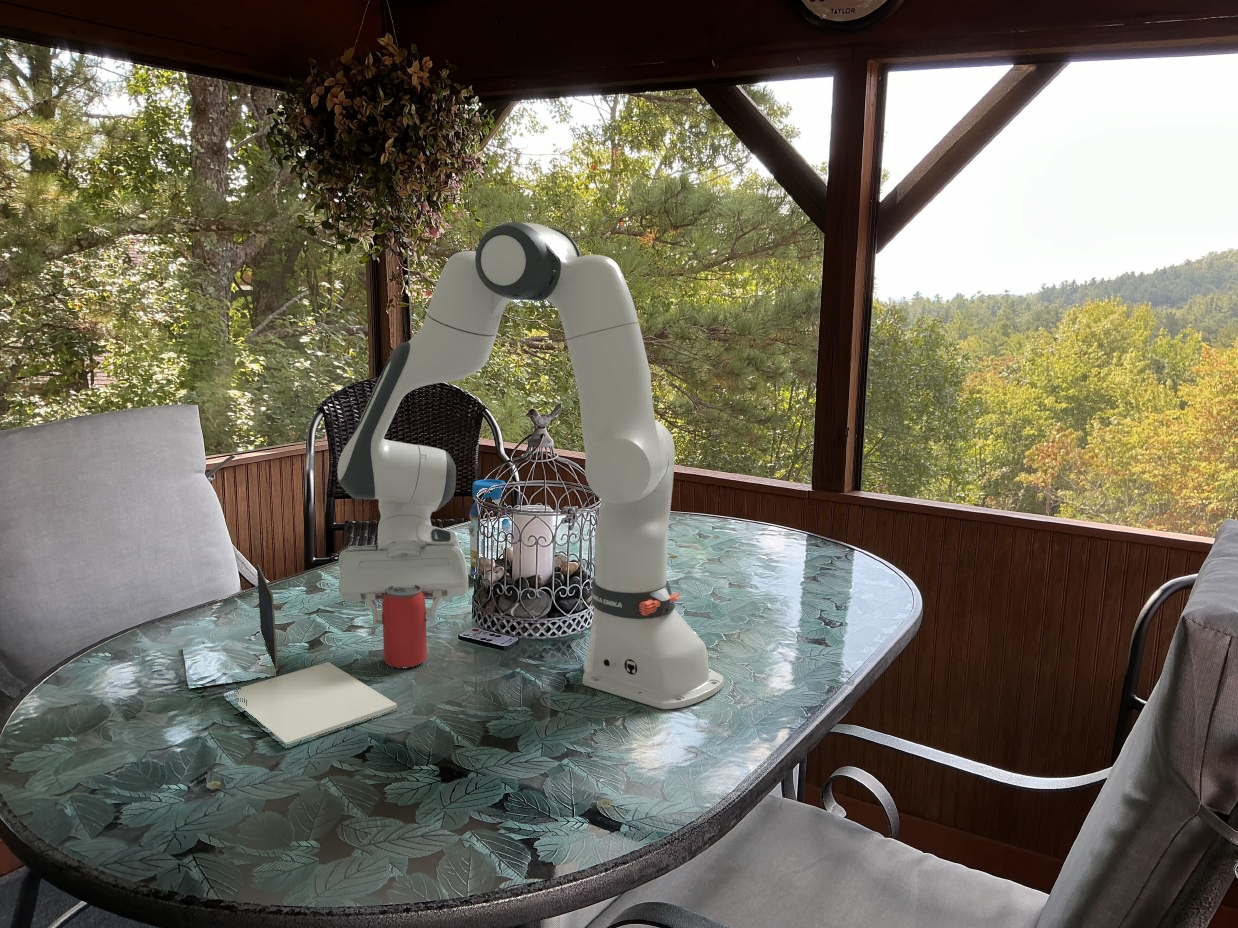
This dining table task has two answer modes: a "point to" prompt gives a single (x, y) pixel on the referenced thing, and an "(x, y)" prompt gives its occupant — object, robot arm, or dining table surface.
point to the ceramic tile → (311, 702)
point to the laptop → (267, 616)
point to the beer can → (404, 627)
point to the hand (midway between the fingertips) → (404, 621)
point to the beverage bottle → (473, 516)
